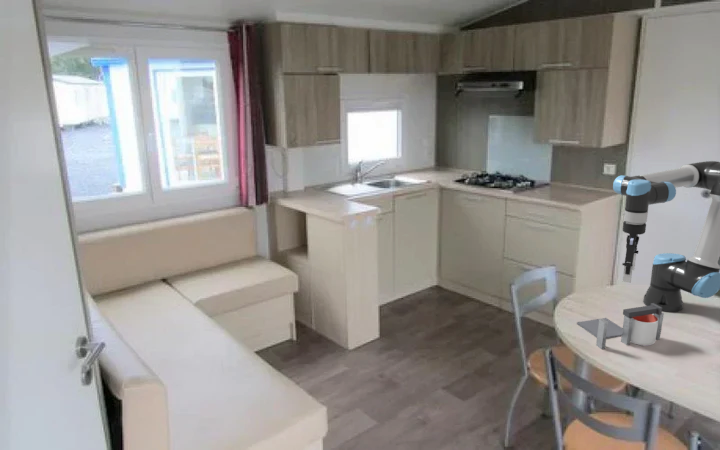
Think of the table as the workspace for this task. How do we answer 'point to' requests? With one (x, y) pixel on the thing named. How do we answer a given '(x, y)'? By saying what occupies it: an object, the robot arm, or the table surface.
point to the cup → (644, 330)
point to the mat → (592, 327)
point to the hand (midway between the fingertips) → (628, 275)
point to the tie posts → (623, 330)
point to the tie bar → (643, 310)
